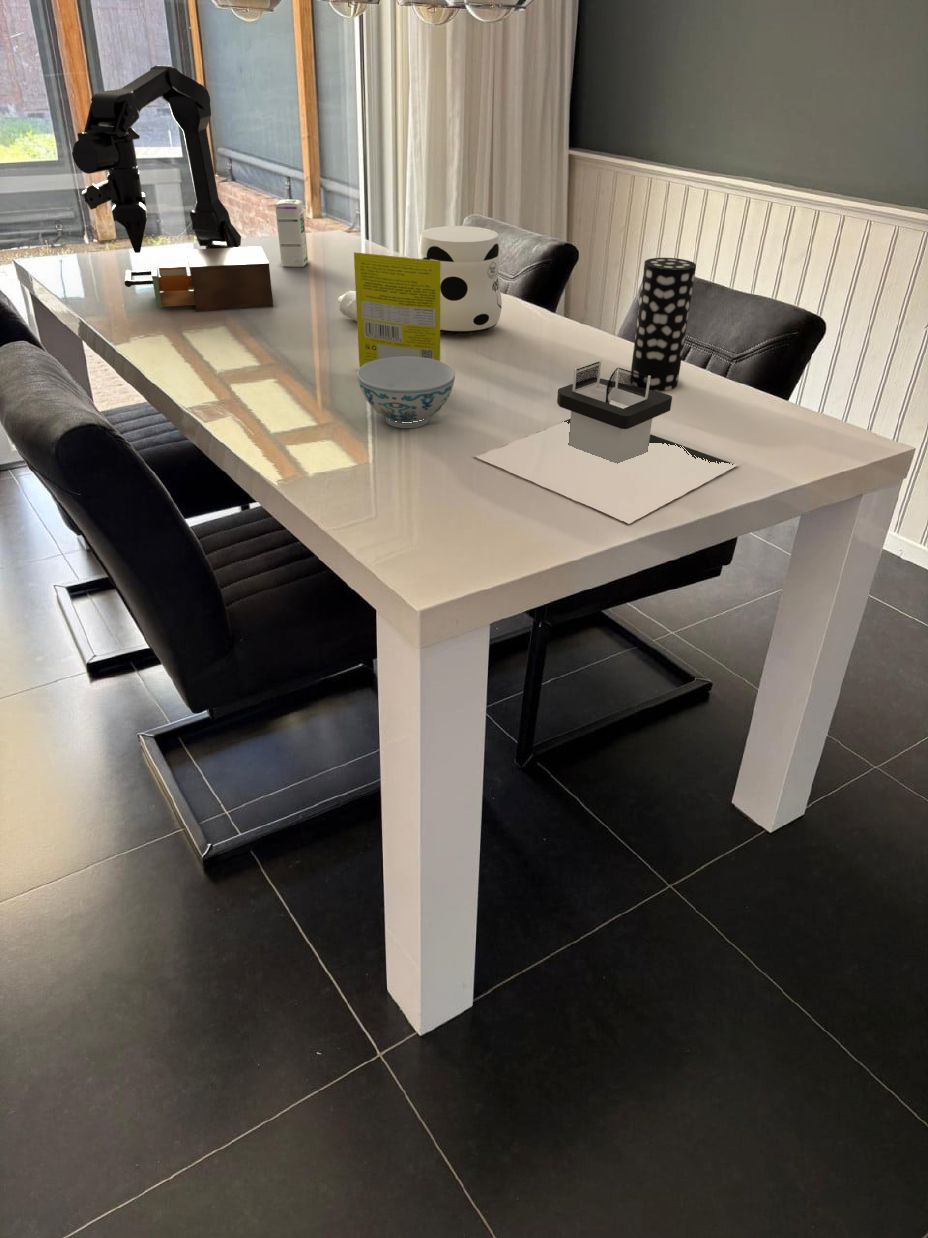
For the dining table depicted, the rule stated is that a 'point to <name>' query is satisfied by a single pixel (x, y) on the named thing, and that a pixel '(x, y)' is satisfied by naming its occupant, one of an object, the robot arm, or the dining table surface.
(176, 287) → the snack box
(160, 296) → the drawer
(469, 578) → the dining table surface
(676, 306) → the white-spotted black cylinder
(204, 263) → the organizer
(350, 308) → the roll
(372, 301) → the food package
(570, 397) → the black-topped pedestal
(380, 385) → the chinaware
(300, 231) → the syrup box
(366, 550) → the dining table surface
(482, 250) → the milk container
